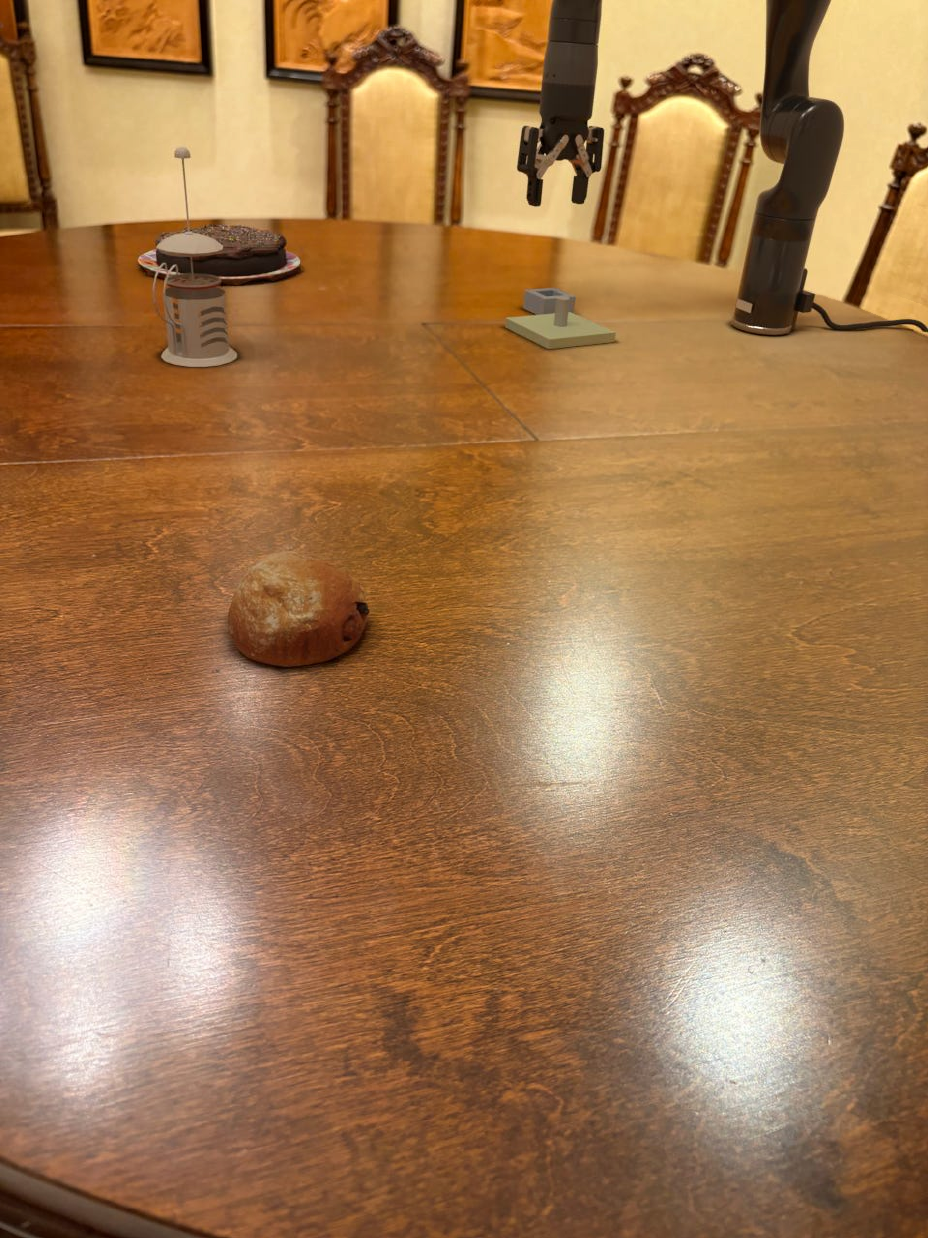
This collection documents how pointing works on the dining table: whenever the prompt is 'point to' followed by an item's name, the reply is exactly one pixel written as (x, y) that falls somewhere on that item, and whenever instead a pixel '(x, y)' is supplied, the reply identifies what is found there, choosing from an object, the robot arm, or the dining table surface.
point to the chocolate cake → (230, 256)
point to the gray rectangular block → (545, 300)
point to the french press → (193, 301)
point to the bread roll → (296, 611)
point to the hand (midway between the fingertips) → (556, 204)
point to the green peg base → (560, 328)
